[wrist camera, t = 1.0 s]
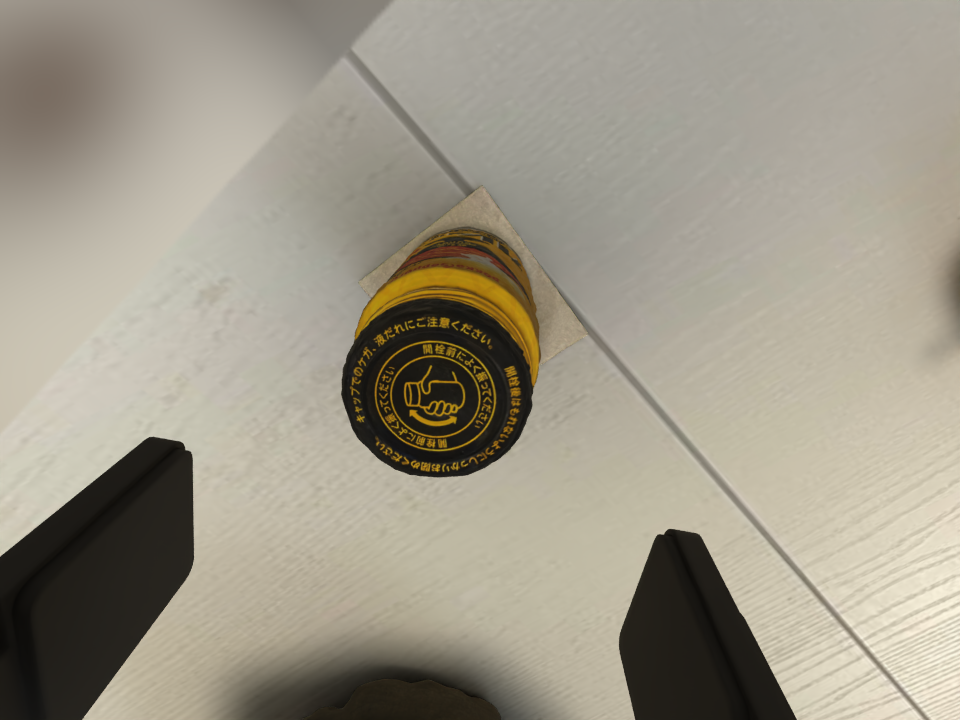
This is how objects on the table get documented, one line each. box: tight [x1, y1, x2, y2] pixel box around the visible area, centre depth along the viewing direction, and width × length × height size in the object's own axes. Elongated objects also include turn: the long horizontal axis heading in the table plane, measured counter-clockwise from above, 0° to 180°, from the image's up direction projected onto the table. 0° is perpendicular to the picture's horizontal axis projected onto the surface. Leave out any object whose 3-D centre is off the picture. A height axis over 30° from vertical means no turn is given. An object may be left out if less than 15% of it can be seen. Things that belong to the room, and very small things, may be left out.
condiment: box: [341, 185, 588, 477], centre depth 20 cm, size 7×8×12 cm
